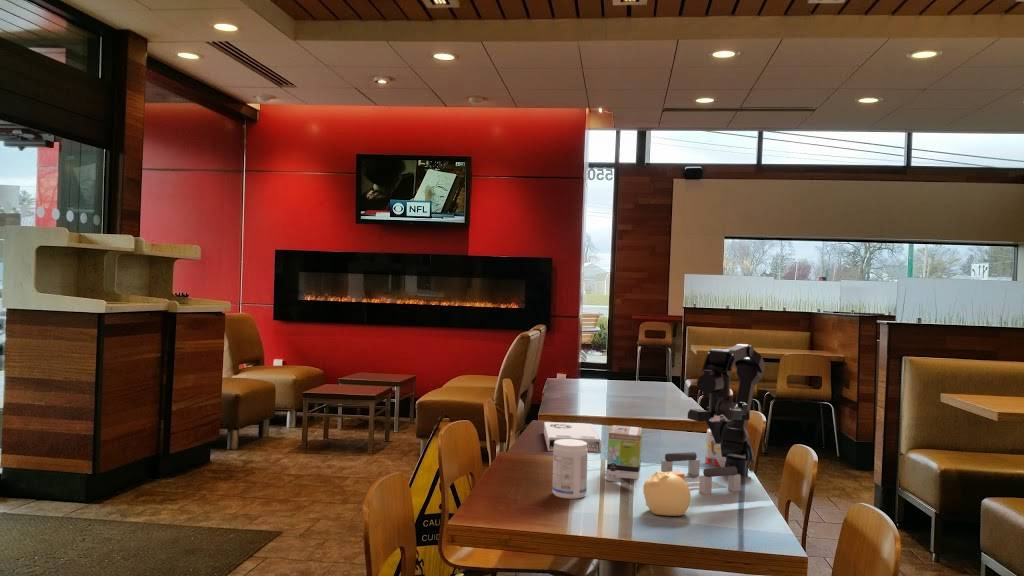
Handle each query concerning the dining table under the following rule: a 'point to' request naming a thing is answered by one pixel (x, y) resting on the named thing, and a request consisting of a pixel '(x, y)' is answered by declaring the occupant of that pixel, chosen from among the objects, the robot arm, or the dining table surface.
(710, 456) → the ink box
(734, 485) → the grey bar with posts
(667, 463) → the grey u-shaped handle
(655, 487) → the tan rounded lump
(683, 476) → the block
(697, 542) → the dining table surface
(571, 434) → the flat white box
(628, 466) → the tea box
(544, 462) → the dining table surface
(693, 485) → the panel
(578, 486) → the supplement tub
